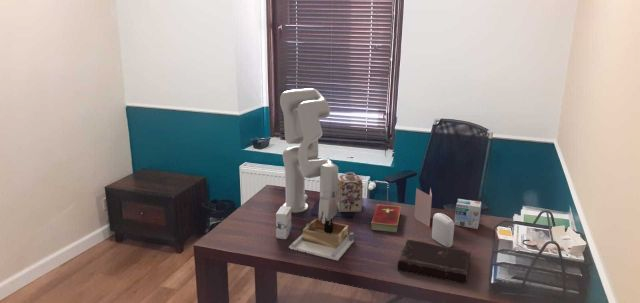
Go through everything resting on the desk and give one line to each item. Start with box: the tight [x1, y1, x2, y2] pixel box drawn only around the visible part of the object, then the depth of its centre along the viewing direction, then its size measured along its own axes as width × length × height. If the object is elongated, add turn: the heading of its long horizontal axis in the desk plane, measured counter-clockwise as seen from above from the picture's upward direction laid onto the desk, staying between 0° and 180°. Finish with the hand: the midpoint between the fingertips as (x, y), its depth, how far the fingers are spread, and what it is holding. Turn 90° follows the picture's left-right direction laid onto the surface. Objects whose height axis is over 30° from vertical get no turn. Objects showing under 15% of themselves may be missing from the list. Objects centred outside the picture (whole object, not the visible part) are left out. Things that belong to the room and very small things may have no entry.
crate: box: [302, 218, 350, 248], centre depth 192 cm, size 12×16×5 cm
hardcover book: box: [370, 203, 402, 233], centre depth 211 cm, size 12×21×4 cm, turn 166°
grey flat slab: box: [288, 222, 355, 261], centre depth 189 cm, size 17×22×4 cm
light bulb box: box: [453, 198, 482, 230], centre depth 207 cm, size 11×7×11 cm, turn 68°
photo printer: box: [431, 212, 455, 248], centre depth 190 cm, size 10×4×12 cm, turn 26°
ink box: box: [275, 205, 292, 240], centre depth 197 cm, size 9×5×12 cm, turn 168°
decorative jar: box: [337, 171, 364, 213], centre depth 224 cm, size 12×12×18 cm
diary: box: [397, 238, 471, 284], centre depth 174 cm, size 19×25×5 cm
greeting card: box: [413, 187, 434, 228], centre depth 209 cm, size 11×7×15 cm, turn 170°
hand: (328, 231), depth 195 cm, fingers closed
